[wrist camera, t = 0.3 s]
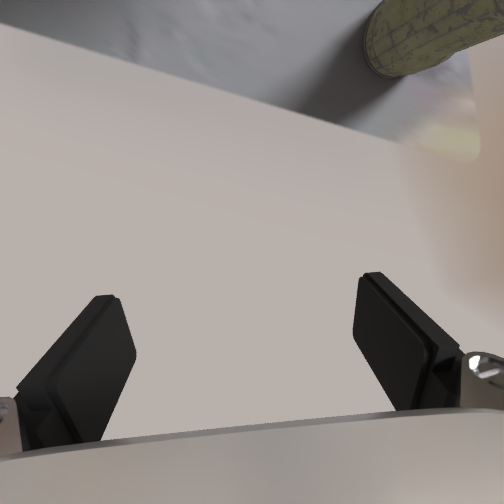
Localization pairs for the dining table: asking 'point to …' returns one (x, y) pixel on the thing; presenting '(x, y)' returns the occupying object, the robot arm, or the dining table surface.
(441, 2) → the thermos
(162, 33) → the dining table surface
